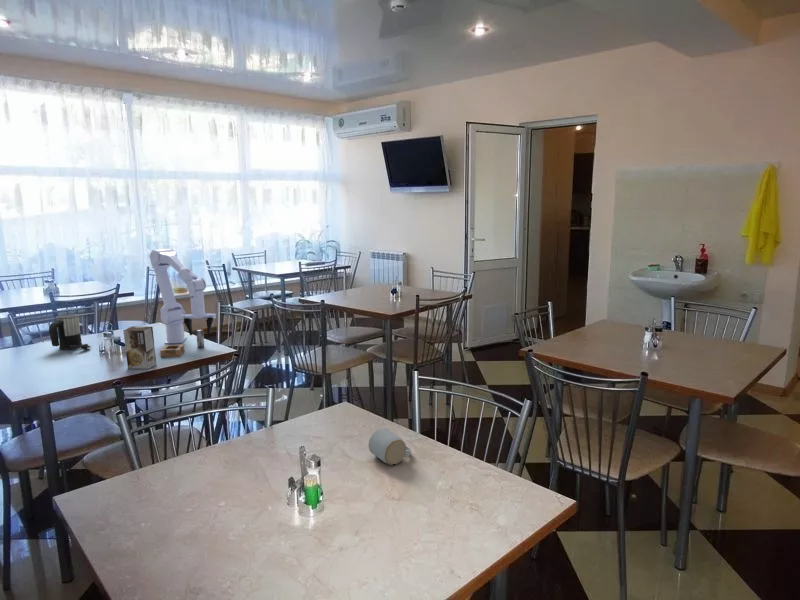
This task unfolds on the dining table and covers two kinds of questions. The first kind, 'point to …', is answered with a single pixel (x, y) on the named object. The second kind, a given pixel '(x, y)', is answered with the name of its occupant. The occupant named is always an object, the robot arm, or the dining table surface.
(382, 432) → the ceramic mug
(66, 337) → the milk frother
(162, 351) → the bead block
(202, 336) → the needle peg
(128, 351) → the coffee box
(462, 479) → the dining table surface
